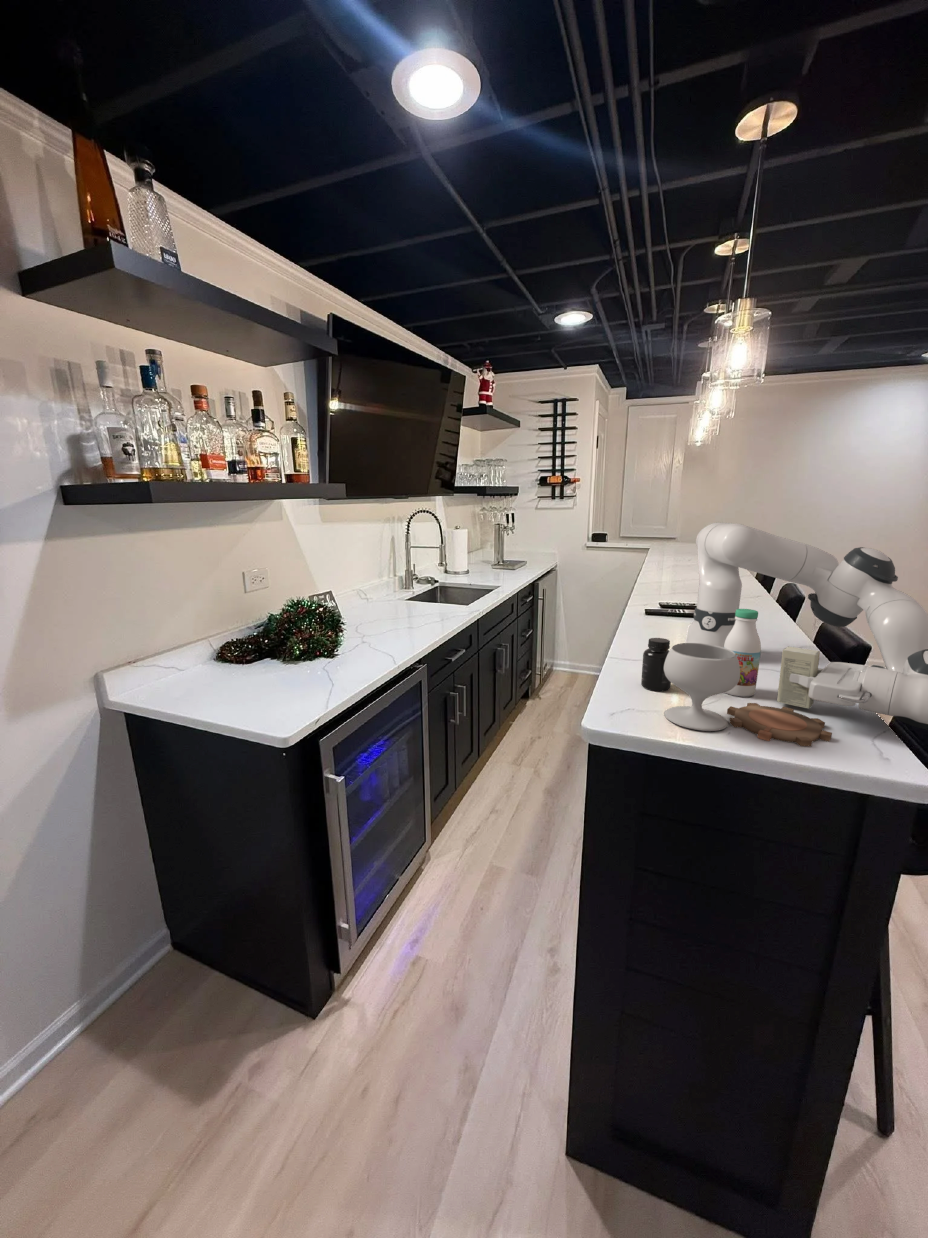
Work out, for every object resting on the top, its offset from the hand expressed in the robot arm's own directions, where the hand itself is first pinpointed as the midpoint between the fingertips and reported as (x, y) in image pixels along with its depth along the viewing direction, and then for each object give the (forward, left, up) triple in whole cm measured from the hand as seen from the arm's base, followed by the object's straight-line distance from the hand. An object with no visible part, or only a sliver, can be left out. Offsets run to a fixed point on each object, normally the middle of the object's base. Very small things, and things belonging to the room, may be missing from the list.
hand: (793, 673), depth 109 cm
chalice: (+23, -12, -8) cm, 27 cm away
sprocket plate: (+14, +1, -7) cm, 16 cm away
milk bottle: (-1, -11, -8) cm, 14 cm away
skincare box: (0, +1, -7) cm, 7 cm away
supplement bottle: (+10, -26, -8) cm, 29 cm away
